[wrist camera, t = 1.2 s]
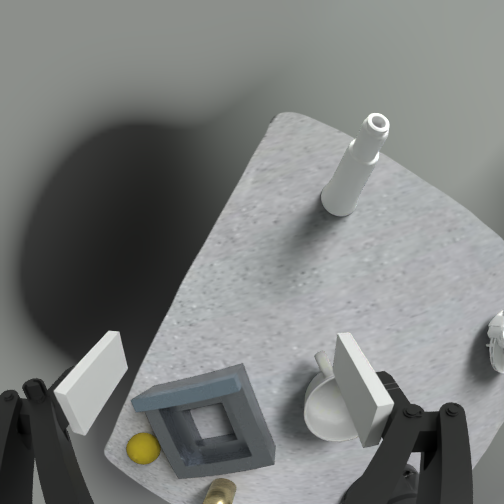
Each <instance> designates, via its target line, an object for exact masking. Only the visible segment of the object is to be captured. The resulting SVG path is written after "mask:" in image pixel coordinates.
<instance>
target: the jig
mask: <svg viewBox="0 0 504 504" xmlns="http://www.w3.org/2000/svg"><path fill="white" fill-rule="evenodd" d="M131 402H132V404H133V407H134V409H135V411H136V412H141V411H145V413H146V415H147V418H148V420H149V422H150V424H151V426H152V429H153V431H154V433H155V435H156V437H157V439H158V441H159V443H160V445H161V447H162V449H163V451H164V453H165V455H166V457H167V459H168V461H169V463H170V465H171V466H172V468H173V470H174V472H175V474H176V475H177V477H178V479H182V478H195V477H205V476H214V475H221V474H228V473H235V472H241V471H246V470H251V469H257V468H261V467H266V466H270V465H274V463H275V449H276V446H275V444H274V441H273V439H272V436H271V434H270V431H269V429H268V427H267V424H266V422H265V419H264V417H263V414H262V412H261V409H260V407H259V404H258V401H257V399H256V396H255V394H254V391H253V388H252V386H251V383H250V381H249V378H248V375H247V373H246V370H245V367H244V365H243V363H241V364H238V365H235V366H231V367H228V368H224V369H221V370H217V371H213V372H210V373H206V374H202V375H198V376H194V377H190V378H186V379H182V380H177V381H173V382H168V383H164V384H159V385H154V386H153V387H151V388H150V389H148V390H146V391H145V392H143V393H141V394H140V395H138V396H137V397H135V398H133V399H132V400H131ZM221 402H222V404H223V406H224V409H225V411H226V413H227V416H228V418H229V420H230V423H231V425H232V427H233V430H234V432H235V433H233V434H228V435H223V436H218V437H213V438H207V439H202V438H201V436H200V434H199V432H198V429H197V427H196V425H195V423H194V420H193V418H192V416H191V414H190V411H189V409H193V408H198V407H203V406H208V405H212V404H217V403H221Z"/></svg>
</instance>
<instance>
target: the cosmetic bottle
mask: <svg viewBox="0 0 504 504" xmlns="http://www.w3.org/2000/svg"><path fill="white" fill-rule="evenodd" d="M388 129H389V121H388V120H387V118H385V116H383V115H381V114H379V113H372V114H370V115H369V116H368V118H367V119H365V120H364V121H363V123H362V125H361V128H360V130H359V133H358V135H357V137H356V139H354V140H353V141H351V143H350V144H349V146H348V148H347V150H346V152H345V154H344V156H343V158H342V160H341V162H340V164H339V166H338V168H337V170H336V172H335V173H334V175H333V177H332V179H331V180H330V182H329V183H328V184H327V185H326V186H325V187H324V189H323V190H322V194H321V200H322V204H323V206H324V208H325V209H326V210H327V211H328V212H329V213H331V214H333V215H335V216H347V215H349V214H351V213H352V212H353V211H354V210H355V208H356V206H357V202H358V199H359V196H360V194H361V192H362V190H363V188H364V186H365V184H366V182H367V180H368V178H369V177H370V175H371V173H372V171H373V169H374V167H375V165H376V163H377V161H378V158H379V150H380V148H381V147H382V145H383V143H384V142H385V140H386V138H387V136H388Z"/></svg>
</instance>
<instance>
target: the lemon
mask: <svg viewBox="0 0 504 504" xmlns="http://www.w3.org/2000/svg"><path fill="white" fill-rule="evenodd" d="M126 451H127V454H128V456H129V457H130V459H131V460H132V461H134V462H136V463H138V464H149V463H151V462H153V461H154V460H156V459H157V458H158V456H159V454H160V451H161V445H160V443H159V441H158V439H157V438H156V437H155V436H153V435H151V434H149V433H138V434H136V435H134V436H133V437H132V438H131V439H130V440H129V441H128V444H127V447H126Z"/></svg>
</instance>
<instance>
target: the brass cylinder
mask: <svg viewBox="0 0 504 504" xmlns="http://www.w3.org/2000/svg"><path fill="white" fill-rule="evenodd" d="M235 492H236V485H235V484H234V483H233V482H232V481H230V480H228V479H224V478H219V479H215V480H214V481H213V482H212V484H211V486H210V488H209V490H208V493H207V495H206V497H205V499H204V501H203V504H232V502H233V499H234V496H235Z"/></svg>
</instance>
